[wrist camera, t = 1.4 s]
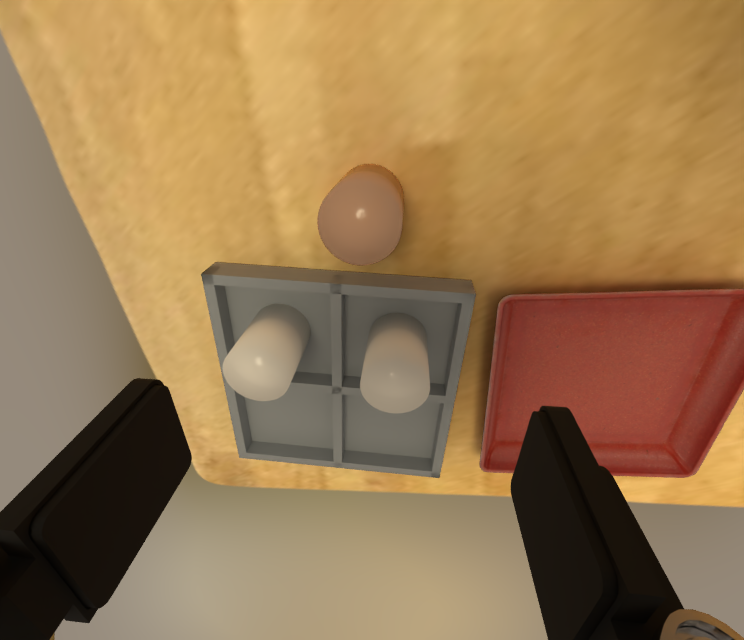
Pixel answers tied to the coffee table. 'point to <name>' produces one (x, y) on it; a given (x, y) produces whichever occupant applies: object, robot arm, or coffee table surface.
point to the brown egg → (362, 215)
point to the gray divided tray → (342, 365)
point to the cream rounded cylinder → (396, 364)
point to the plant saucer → (618, 374)
